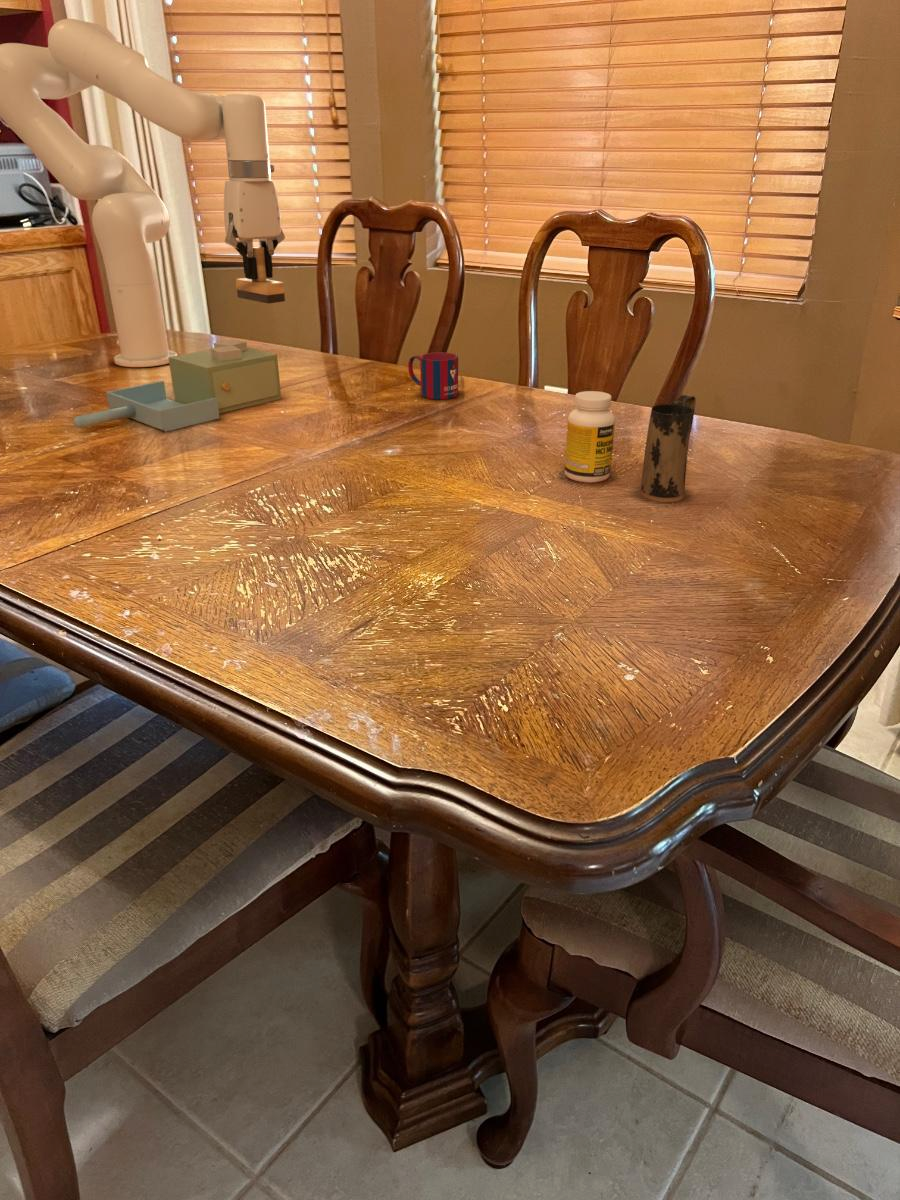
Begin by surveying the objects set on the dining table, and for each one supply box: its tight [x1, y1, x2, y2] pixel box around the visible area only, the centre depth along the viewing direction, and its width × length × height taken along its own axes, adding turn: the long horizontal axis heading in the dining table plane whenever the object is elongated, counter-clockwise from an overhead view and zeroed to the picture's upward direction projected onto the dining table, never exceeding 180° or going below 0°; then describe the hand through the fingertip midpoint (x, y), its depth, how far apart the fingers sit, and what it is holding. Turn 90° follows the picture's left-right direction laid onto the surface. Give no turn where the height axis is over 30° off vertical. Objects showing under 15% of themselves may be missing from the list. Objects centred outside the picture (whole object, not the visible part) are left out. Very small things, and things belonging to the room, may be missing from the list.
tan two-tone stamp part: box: [235, 246, 286, 304], centre depth 166 cm, size 10×4×10 cm, turn 47°
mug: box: [640, 394, 697, 503], centre depth 108 cm, size 8×6×12 cm
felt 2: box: [210, 346, 242, 361], centre depth 146 cm, size 4×4×2 cm
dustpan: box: [72, 380, 220, 433], centre depth 139 cm, size 20×17×3 cm
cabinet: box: [168, 346, 282, 415], centre depth 149 cm, size 13×14×8 cm
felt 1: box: [213, 338, 248, 352], centre depth 151 cm, size 4×4×2 cm
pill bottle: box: [563, 390, 616, 484], centre depth 114 cm, size 6×6×11 cm
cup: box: [407, 351, 459, 400], centre depth 154 cm, size 7×10×7 cm
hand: (259, 277), depth 166 cm, fingers closed on tan two-tone stamp part, 2 cm apart
